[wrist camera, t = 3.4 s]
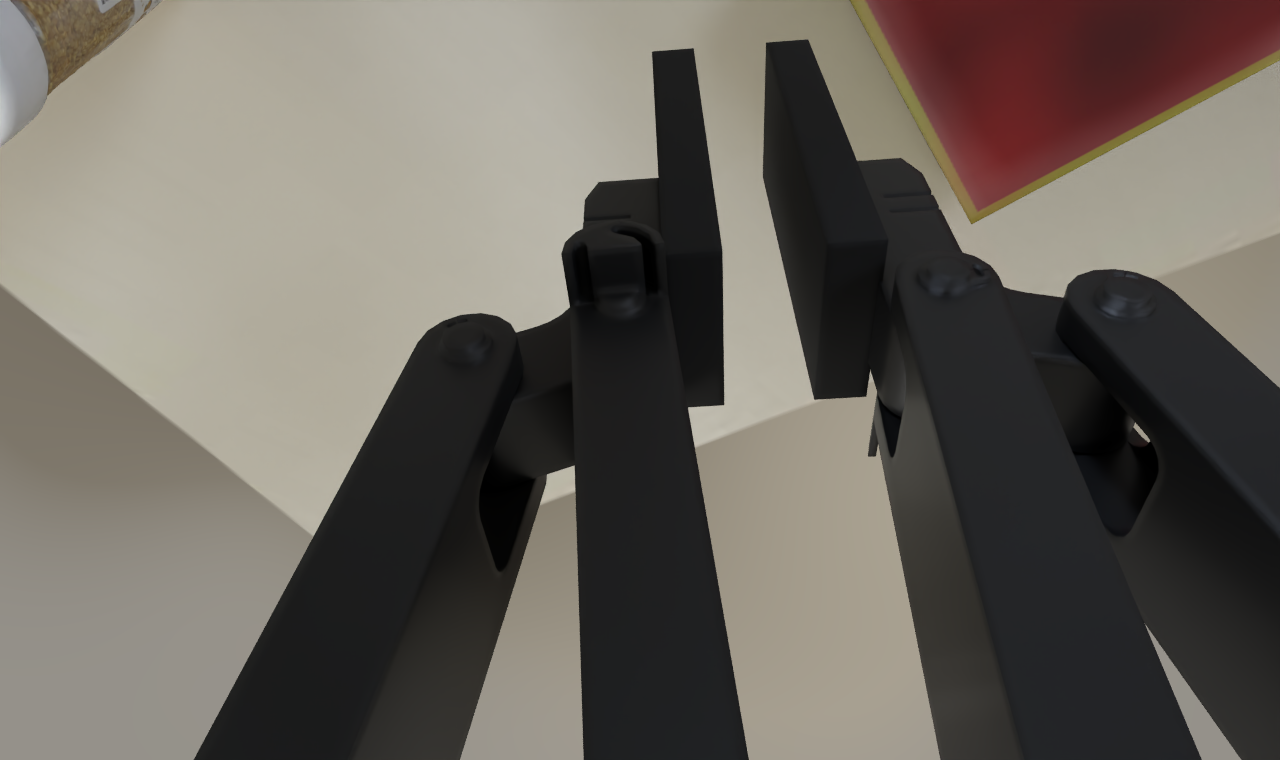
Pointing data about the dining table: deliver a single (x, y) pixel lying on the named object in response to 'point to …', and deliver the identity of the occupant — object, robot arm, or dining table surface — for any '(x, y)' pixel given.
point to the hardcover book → (1056, 77)
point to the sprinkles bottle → (53, 48)
